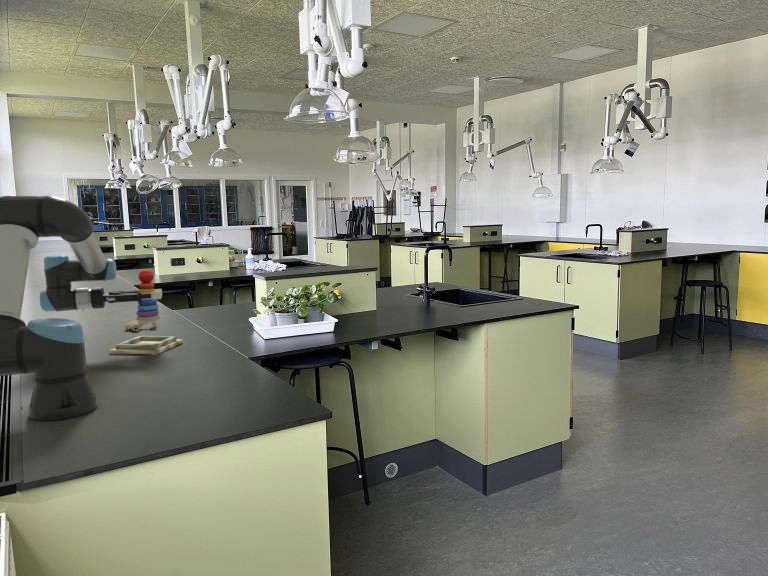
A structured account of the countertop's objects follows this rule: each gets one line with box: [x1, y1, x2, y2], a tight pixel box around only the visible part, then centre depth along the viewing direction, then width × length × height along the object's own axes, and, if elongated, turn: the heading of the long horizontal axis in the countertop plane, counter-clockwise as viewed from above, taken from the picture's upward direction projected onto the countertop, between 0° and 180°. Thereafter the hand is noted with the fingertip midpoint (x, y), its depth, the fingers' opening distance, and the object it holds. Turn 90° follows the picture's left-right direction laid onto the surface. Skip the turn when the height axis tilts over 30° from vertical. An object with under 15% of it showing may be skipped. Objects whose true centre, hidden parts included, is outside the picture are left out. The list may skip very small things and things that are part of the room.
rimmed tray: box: [108, 335, 183, 356], centre depth 205 cm, size 18×18×3 cm
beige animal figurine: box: [124, 319, 158, 332], centre depth 240 cm, size 8×12×10 cm
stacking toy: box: [136, 268, 161, 323], centre depth 202 cm, size 8×8×19 cm
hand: (161, 293), depth 204 cm, fingers closed on stacking toy, 6 cm apart
